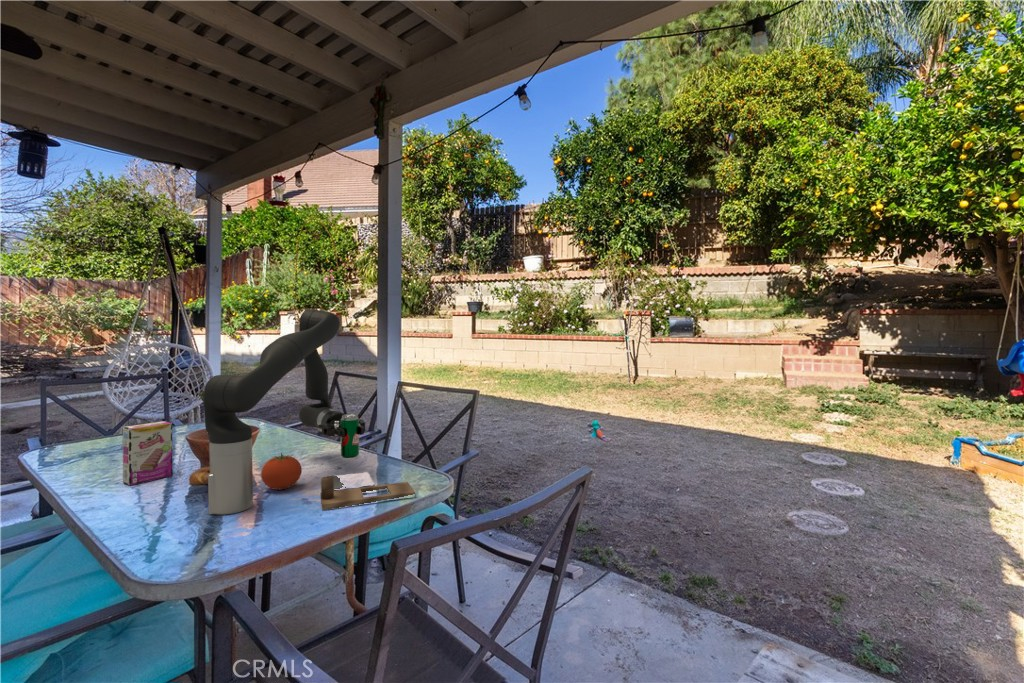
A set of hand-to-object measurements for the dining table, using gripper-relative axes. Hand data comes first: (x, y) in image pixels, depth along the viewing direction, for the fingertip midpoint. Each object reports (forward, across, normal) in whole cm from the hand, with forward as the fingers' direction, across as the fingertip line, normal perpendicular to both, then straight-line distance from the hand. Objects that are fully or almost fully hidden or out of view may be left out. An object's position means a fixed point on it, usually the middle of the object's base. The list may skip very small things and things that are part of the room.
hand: (353, 432), depth 141 cm
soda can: (-3, 0, +8) cm, 8 cm away
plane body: (+14, -1, +15) cm, 20 cm away
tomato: (-8, -17, +15) cm, 24 cm away
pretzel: (-29, -31, +16) cm, 46 cm away
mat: (-2, 0, +15) cm, 15 cm away
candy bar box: (-40, -46, +15) cm, 63 cm away
